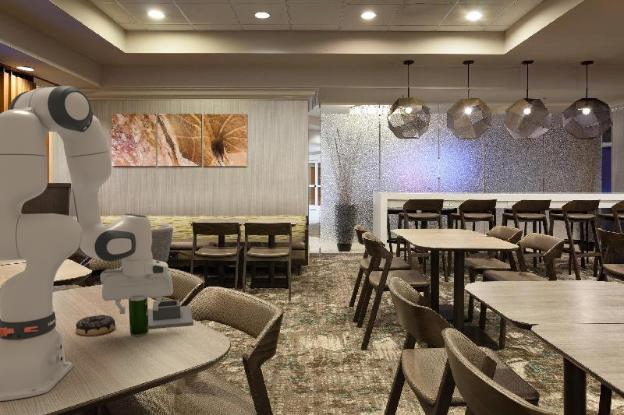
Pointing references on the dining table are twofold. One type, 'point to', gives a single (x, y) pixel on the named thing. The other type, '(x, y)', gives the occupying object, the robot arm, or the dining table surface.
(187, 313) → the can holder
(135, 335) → the beer can
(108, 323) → the donut
